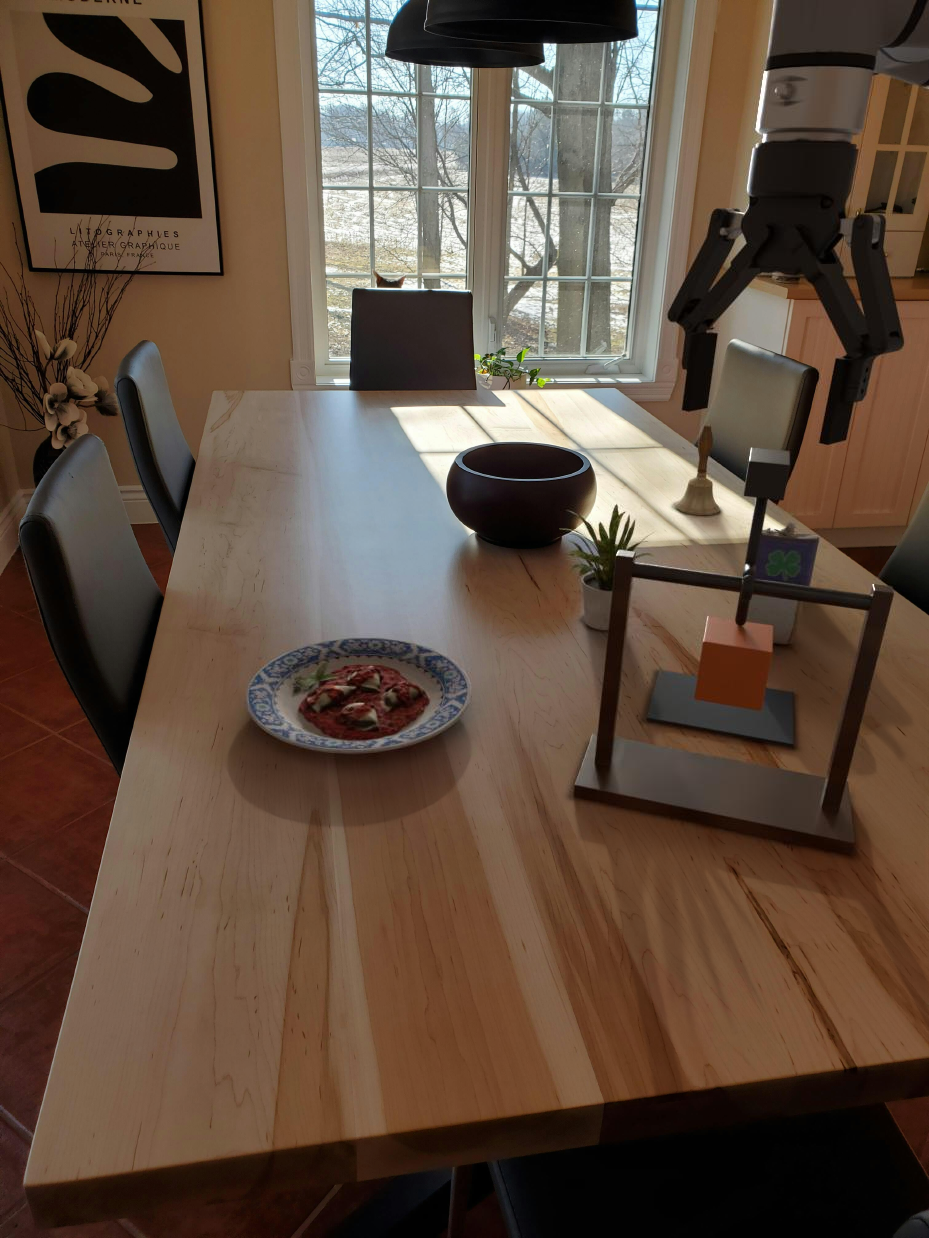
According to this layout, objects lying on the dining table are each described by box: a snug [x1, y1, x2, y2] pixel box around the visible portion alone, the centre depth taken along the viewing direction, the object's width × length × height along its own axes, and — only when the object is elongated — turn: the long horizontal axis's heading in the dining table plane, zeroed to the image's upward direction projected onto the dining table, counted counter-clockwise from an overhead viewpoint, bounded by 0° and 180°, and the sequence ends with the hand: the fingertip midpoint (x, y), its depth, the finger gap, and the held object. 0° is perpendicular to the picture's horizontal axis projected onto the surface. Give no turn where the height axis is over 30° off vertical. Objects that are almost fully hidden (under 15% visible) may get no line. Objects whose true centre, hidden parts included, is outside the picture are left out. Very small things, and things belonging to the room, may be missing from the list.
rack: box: [573, 550, 895, 856], centre depth 85 cm, size 26×10×24 cm, turn 72°
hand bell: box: [674, 424, 721, 516], centre depth 168 cm, size 8×8×16 cm
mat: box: [646, 669, 795, 748], centre depth 106 cm, size 16×12×1 cm
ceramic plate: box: [245, 636, 473, 755], centre depth 104 cm, size 26×26×3 cm
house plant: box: [560, 503, 655, 631], centre depth 123 cm, size 14×14×16 cm
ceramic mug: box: [734, 594, 804, 645], centre depth 122 cm, size 11×8×8 cm
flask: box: [755, 521, 820, 586], centre depth 135 cm, size 9×3×11 cm, turn 80°
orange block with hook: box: [694, 447, 791, 711], centre depth 80 cm, size 6×6×22 cm
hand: (759, 425), depth 76 cm, fingers open, 13 cm apart
